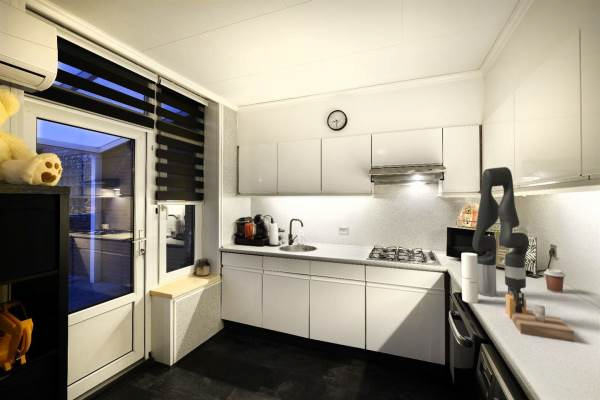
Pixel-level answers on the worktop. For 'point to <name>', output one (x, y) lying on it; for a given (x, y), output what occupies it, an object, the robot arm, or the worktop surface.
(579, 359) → the worktop surface
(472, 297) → the cylindrical container
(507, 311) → the peach foam cube
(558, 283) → the coffee cup
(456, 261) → the worktop surface
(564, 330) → the brown slab
